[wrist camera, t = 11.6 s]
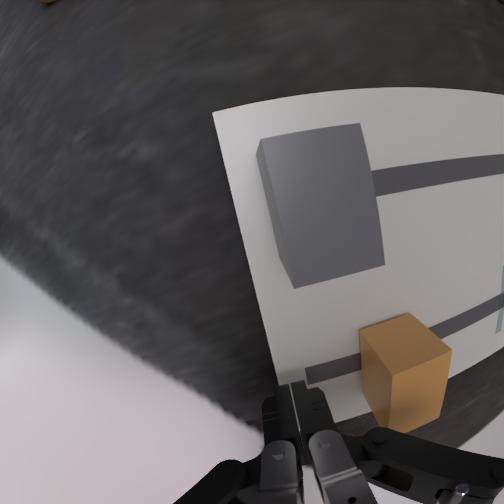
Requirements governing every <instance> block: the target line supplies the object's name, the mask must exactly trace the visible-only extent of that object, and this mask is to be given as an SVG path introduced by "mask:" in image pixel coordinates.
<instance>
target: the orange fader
mask: <svg viewBox="0 0 504 504" xmlns="http://www.w3.org/2000/svg"><path fill="white" fill-rule="evenodd" d="M359 334H360V348H361V366H362V393H363V395H364V397H365V399H366V401H367V403H368V405H369V406H370V408H371V410H372V412H373V414H374V416H375V418H376V420H377V422H378V424H379V426H380V427H386V428H390V429H393V430H395V431H398V432H401V433H407V432H409V431H411V430H413V429H416V428H418V427H420V426H422V425H424V424H426V423H429V422H431V421H433V420H435V419H437V418H439V415H440V411H441V407H442V403H443V399H444V394H445V390H446V385H447V380H448V374H449V368H450V362H451V356H452V349H451V348H450V347H449V346H448V345H446V344H445V343H444V342H443V341H442V340H441V339H440V338H439V337H437V336H436V335H435V334H434V333H433V332H432V331H431V330H429V329H428V328H427V327H426V326H425V325H424V324H422V323H421V322H420V321H419V320H418V319H417V318H415V317H414V316H413V315H412V314H411V313H409V314H406V315H404V316H401V317H398V318H395V319H392V320H389V321H386V322H383V323H380V324H377V325H374V326H371V327H368V328H365V329H361V330H359Z"/></svg>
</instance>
